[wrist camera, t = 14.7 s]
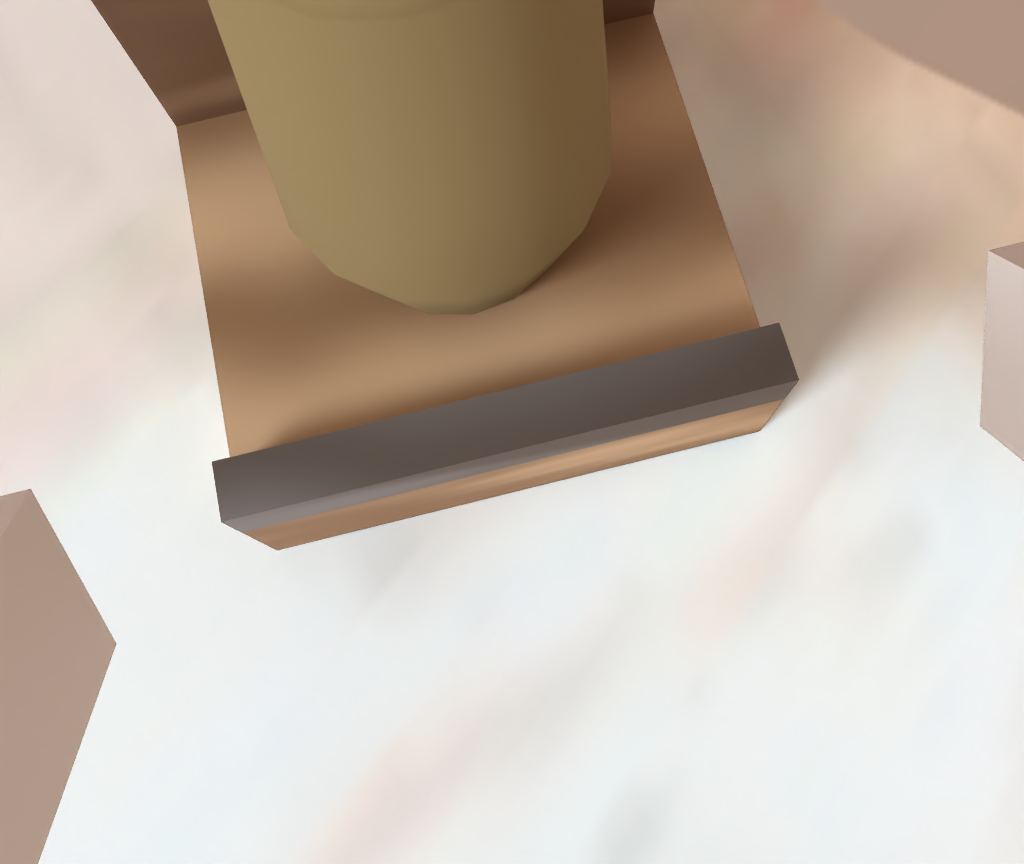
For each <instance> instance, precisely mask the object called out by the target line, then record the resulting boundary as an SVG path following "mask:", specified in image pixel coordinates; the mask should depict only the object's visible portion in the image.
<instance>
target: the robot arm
mask: <svg viewBox="0 0 1024 864" xmlns="http://www.w3.org/2000/svg"><path fill="white" fill-rule="evenodd" d="M980 426H981V427H982V428H983V429H984V430H986V431H987V432H988V433H989V434H991V435H992V436H993V437H994V438H996V439H997V440H998V441H999V442H1000V443H1002V444H1003V445H1004V446H1005V447H1007V448H1008V449H1009V450H1010V451H1012V452H1013V453H1014V454H1015V455H1017V456H1018V457H1019V458H1020V459H1021V460H1023V461H1024V242H1021V243H1017V244H1013V245H1009V246H1005V247H1001V248H997V249H993V250H989V251H988V265H987V286H986V308H985V329H984V350H983V372H982V393H981V415H980ZM115 646H116V642H115V640H114V639H113V637H112V635H111V633H110V631H109V630H108V628H107V626H106V624H105V622H104V621H103V619H102V617H101V615H100V613H99V612H98V610H97V608H96V606H95V604H94V602H93V601H92V599H91V597H90V595H89V593H88V592H87V590H86V588H85V586H84V584H83V583H82V581H81V579H80V577H79V575H78V574H77V572H76V570H75V568H74V566H73V565H72V563H71V561H70V559H69V557H68V556H67V554H66V552H65V550H64V548H63V546H62V545H61V543H60V541H59V539H58V537H57V536H56V534H55V532H54V530H53V528H52V527H51V525H50V523H49V521H48V519H47V518H46V516H45V514H44V512H43V510H42V509H41V507H40V505H39V503H38V501H37V499H36V498H35V496H34V494H33V492H32V490H31V489H28V490H24V491H20V492H16V493H12V494H8V495H4V496H0V864H38V862H39V859H40V856H41V854H42V851H43V848H44V845H45V842H46V840H47V837H48V834H49V831H50V828H51V826H52V823H53V820H54V817H55V814H56V812H57V809H58V806H59V803H60V800H61V798H62V795H63V792H64V789H65V786H66V783H67V781H68V778H69V775H70V772H71V769H72V767H73V764H74V761H75V758H76V755H77V753H78V750H79V747H80V744H81V741H82V739H83V736H84V733H85V730H86V727H87V725H88V722H89V719H90V716H91V713H92V711H93V708H94V705H95V702H96V699H97V697H98V694H99V691H100V688H101V685H102V683H103V680H104V677H105V674H106V671H107V669H108V666H109V663H110V660H111V657H112V654H113V652H114V649H115Z"/></svg>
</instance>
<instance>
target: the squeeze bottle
mask: <svg viewBox="0 0 1024 864" xmlns="http://www.w3.org/2000/svg"><path fill="white" fill-rule="evenodd" d="M208 3H209V6H210V8H211V11H212V14H213V17H214V19H215V22H216V25H217V28H218V31H219V33H220V36H221V39H222V42H223V44H224V47H225V50H226V53H227V55H228V58H229V61H230V64H231V67H232V69H233V72H234V75H235V78H236V80H237V83H238V86H239V89H240V92H241V94H242V97H243V100H244V103H245V105H246V108H247V111H248V114H249V117H250V119H251V122H252V125H253V128H254V130H255V133H256V136H257V139H258V142H259V144H260V147H261V150H262V153H263V155H264V158H265V161H266V164H267V167H268V169H269V172H270V175H271V178H272V180H273V183H274V186H275V189H276V192H277V194H278V197H279V200H280V203H281V205H282V208H283V211H284V214H285V217H286V219H287V222H288V225H289V228H290V230H291V231H292V232H293V233H294V234H295V235H296V236H297V237H298V238H299V239H300V240H301V241H302V242H303V243H304V244H305V245H306V246H307V247H308V248H309V249H310V250H311V251H312V252H313V253H314V254H315V255H316V256H317V257H318V258H319V259H320V260H321V261H322V262H323V263H324V264H325V265H326V266H327V267H328V268H329V269H330V270H331V271H332V272H333V273H334V274H335V275H337V276H339V277H342V278H344V279H346V280H349V281H351V282H353V283H356V284H358V285H360V286H362V287H365V288H367V289H369V290H372V291H374V292H376V293H379V294H381V295H383V296H385V297H388V298H390V299H393V300H395V301H398V302H400V303H403V304H405V305H407V306H410V307H412V308H415V309H417V310H420V311H422V312H425V313H427V314H467V315H473V314H476V313H479V312H481V311H484V310H487V309H489V308H492V307H495V306H497V305H500V304H503V303H505V302H508V301H511V300H513V299H515V298H516V297H517V296H518V295H519V294H521V293H522V292H523V291H524V290H525V289H526V288H527V287H528V286H529V285H531V284H532V283H533V282H534V281H535V280H536V279H537V278H538V277H539V276H541V275H542V274H543V273H544V272H545V271H546V270H547V269H548V268H549V267H550V266H551V265H552V264H553V263H554V262H555V260H556V259H557V258H558V257H559V256H560V255H561V254H562V253H563V252H564V251H565V250H566V249H567V248H568V247H569V246H570V244H571V243H572V242H573V241H574V240H575V239H576V238H577V237H578V236H579V235H580V234H581V233H582V232H583V231H584V229H585V227H586V225H587V223H588V221H589V218H590V216H591V214H592V212H593V210H594V208H595V205H596V203H597V201H598V199H599V197H600V195H601V193H602V190H603V188H604V186H605V184H606V182H607V180H608V177H609V175H610V173H611V109H610V96H609V82H608V68H607V55H606V41H605V28H604V14H603V0H208Z"/></svg>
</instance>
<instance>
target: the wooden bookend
mask: <svg viewBox="0 0 1024 864" xmlns="http://www.w3.org/2000/svg"><path fill="white" fill-rule="evenodd" d="M91 1H92V2H93V4H94V5H95V7H96V8H97V10H98V11H99V13H100V14H101V16H102V17H103V19H104V20H105V21H106V23H107V24H108V26H109V27H110V29H111V30H112V32H113V33H114V35H115V36H116V38H117V39H118V41H119V42H120V44H121V45H122V47H123V48H124V50H125V51H126V53H127V54H128V56H129V57H130V58H131V60H132V61H133V63H134V64H135V66H136V67H137V69H138V70H139V72H140V73H141V75H142V76H143V78H144V79H145V81H146V82H147V84H148V85H149V87H150V88H151V90H152V91H153V93H154V94H155V96H156V97H157V98H158V100H159V101H160V103H161V104H162V106H163V107H164V109H165V110H166V112H167V113H168V115H169V116H170V118H171V119H172V121H173V122H174V124H175V125H176V127H177V133H178V139H179V145H180V151H181V157H182V164H183V170H184V176H185V182H186V188H187V194H188V201H189V207H190V213H191V219H192V225H193V232H194V238H195V244H196V250H197V256H198V263H199V269H200V275H201V281H202V287H203V293H204V300H205V306H206V312H207V318H208V324H209V331H210V337H211V343H212V349H213V355H214V361H215V368H216V374H217V380H218V386H219V392H220V399H221V405H222V411H223V417H224V423H225V430H226V436H227V442H228V448H229V454H230V457H229V458H225V459H221V460H217V461H213V462H212V466H213V472H214V479H215V485H216V492H217V498H218V504H219V511H220V517H221V522H222V523H224V524H226V525H228V526H230V527H232V528H234V529H236V530H238V531H240V532H242V533H244V534H246V535H248V536H250V537H252V538H254V539H256V540H258V541H260V542H262V543H264V544H266V545H268V546H270V547H271V548H273V549H275V550H281V549H285V548H289V547H293V546H297V545H301V544H305V543H309V542H313V541H317V540H321V539H325V538H329V537H333V536H337V535H341V534H345V533H349V532H353V531H357V530H362V529H366V528H370V527H374V526H378V525H382V524H386V523H390V522H394V521H398V520H402V519H406V518H410V517H414V516H418V515H422V514H426V513H430V512H434V511H438V510H442V509H447V508H451V507H455V506H459V505H463V504H467V503H471V502H475V501H479V500H483V499H487V498H491V497H495V496H499V495H503V494H507V493H511V492H515V491H519V490H523V489H528V488H532V487H536V486H540V485H544V484H548V483H552V482H556V481H560V480H564V479H568V478H572V477H576V476H580V475H584V474H588V473H592V472H596V471H600V470H604V469H608V468H613V467H617V466H621V465H625V464H629V463H633V462H637V461H641V460H645V459H649V458H653V457H657V456H661V455H665V454H669V453H673V452H677V451H681V450H685V449H689V448H694V447H698V446H702V445H706V444H710V443H714V442H718V441H722V440H726V439H730V438H734V437H738V436H742V435H746V434H750V433H754V432H758V431H760V430H761V429H762V427H763V426H764V425H765V423H766V422H767V421H768V420H769V418H770V417H771V416H772V414H773V413H774V412H775V410H776V409H777V408H778V407H779V405H780V404H781V403H782V401H783V400H784V399H785V397H786V396H787V395H788V394H789V392H790V391H791V390H792V388H793V387H794V386H795V384H796V383H797V382H798V380H799V379H798V376H797V373H796V370H795V367H794V364H793V361H792V358H791V356H790V353H789V350H788V347H787V344H786V341H785V338H784V335H783V333H782V330H781V327H780V324H779V323H776V324H772V325H768V326H764V327H760V326H759V323H758V320H757V318H756V315H755V312H754V309H753V306H752V303H751V300H750V297H749V294H748V291H747V288H746V285H745V282H744V279H743V276H742V273H741V270H740V267H739V265H738V262H737V259H736V256H735V253H734V250H733V247H732V244H731V241H730V238H729V235H728V232H727V229H726V226H725V223H724V220H723V217H722V215H721V212H720V209H719V206H718V203H717V200H716V197H715V194H714V191H713V188H712V185H711V182H710V179H709V176H708V173H707V170H706V167H705V164H704V162H703V159H702V156H701V153H700V150H699V147H698V144H697V141H696V138H695V135H694V132H693V129H692V126H691V123H690V120H689V117H688V114H687V112H686V109H685V106H684V103H683V100H682V97H681V94H680V91H679V88H678V85H677V82H676V79H675V76H674V73H673V70H672V67H671V64H670V61H669V59H668V56H667V53H666V50H665V47H664V44H663V41H662V38H661V35H660V32H659V29H658V26H657V23H656V20H655V17H654V14H653V10H654V3H655V0H603V14H604V28H605V41H606V55H607V68H608V82H609V96H610V109H611V173H610V175H609V177H608V180H607V182H606V184H605V186H604V188H603V190H602V193H601V195H600V197H599V199H598V201H597V203H596V205H595V208H594V210H593V212H592V214H591V216H590V218H589V221H588V223H587V225H586V227H585V229H584V231H583V232H582V233H581V234H580V235H579V236H578V237H577V238H576V239H575V240H574V241H573V242H572V243H571V244H570V246H569V247H568V248H567V249H566V250H565V251H564V252H563V253H562V254H561V255H560V256H559V257H558V258H557V259H556V260H555V262H554V263H553V264H552V265H551V266H550V267H549V268H548V269H547V270H546V271H545V272H544V273H543V274H542V275H541V276H539V277H538V278H537V279H536V280H535V281H534V282H533V283H532V284H531V285H529V286H528V287H527V288H526V289H525V290H524V291H523V292H522V293H521V294H519V295H518V296H517V297H516V298H515V299H513V300H511V301H508V302H505V303H503V304H500V305H497V306H495V307H492V308H489V309H487V310H484V311H481V312H479V313H476V314H473V315H467V314H427V313H425V312H422V311H420V310H417V309H415V308H412V307H410V306H407V305H405V304H403V303H400V302H398V301H395V300H393V299H390V298H388V297H385V296H383V295H381V294H379V293H376V292H374V291H372V290H369V289H367V288H365V287H362V286H360V285H358V284H356V283H353V282H351V281H349V280H346V279H344V278H342V277H339V276H337V275H335V274H334V273H333V272H332V271H331V270H330V269H329V268H328V267H327V266H326V265H325V264H324V263H323V262H322V261H321V260H320V259H319V258H318V257H317V256H316V255H315V254H314V253H313V252H312V251H311V250H310V249H309V248H308V247H307V246H306V245H305V244H304V243H303V242H302V241H301V240H300V239H299V238H298V237H297V236H296V235H295V234H294V233H293V232H292V231H291V230H290V228H289V225H288V222H287V219H286V217H285V214H284V211H283V208H282V205H281V203H280V200H279V197H278V194H277V192H276V189H275V186H274V183H273V180H272V178H271V175H270V172H269V169H268V167H267V164H266V161H265V158H264V155H263V153H262V150H261V147H260V144H259V142H258V139H257V136H256V133H255V130H254V128H253V125H252V122H251V119H250V117H249V114H248V111H247V108H246V105H245V103H244V100H243V97H242V94H241V92H240V89H239V86H238V83H237V80H236V78H235V75H234V72H233V69H232V67H231V64H230V61H229V58H228V55H227V53H226V50H225V47H224V44H223V42H222V39H221V36H220V33H219V31H218V28H217V25H216V22H215V19H214V17H213V14H212V11H211V8H210V6H209V3H208V0H91Z"/></svg>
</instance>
